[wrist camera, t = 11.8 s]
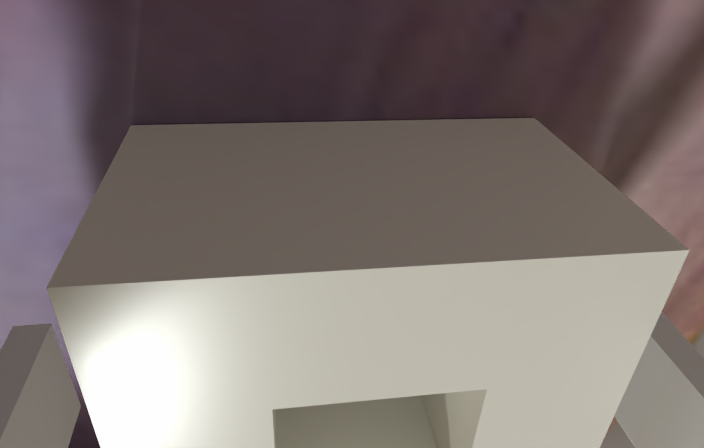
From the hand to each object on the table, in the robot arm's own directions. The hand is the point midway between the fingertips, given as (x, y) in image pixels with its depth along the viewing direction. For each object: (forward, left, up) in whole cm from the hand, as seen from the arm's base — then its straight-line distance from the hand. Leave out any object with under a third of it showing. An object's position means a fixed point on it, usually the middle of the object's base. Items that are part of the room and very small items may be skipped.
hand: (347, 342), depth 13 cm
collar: (0, 0, -3) cm, 3 cm away
